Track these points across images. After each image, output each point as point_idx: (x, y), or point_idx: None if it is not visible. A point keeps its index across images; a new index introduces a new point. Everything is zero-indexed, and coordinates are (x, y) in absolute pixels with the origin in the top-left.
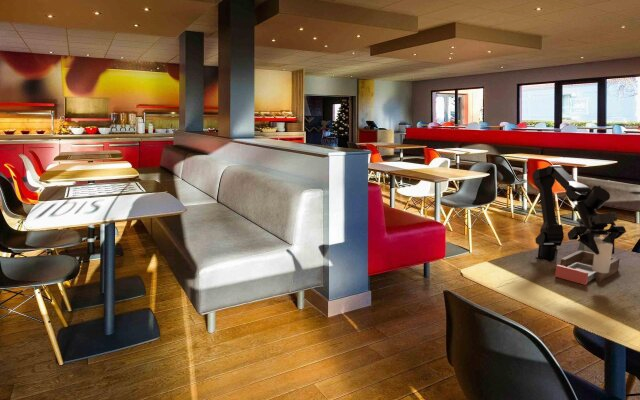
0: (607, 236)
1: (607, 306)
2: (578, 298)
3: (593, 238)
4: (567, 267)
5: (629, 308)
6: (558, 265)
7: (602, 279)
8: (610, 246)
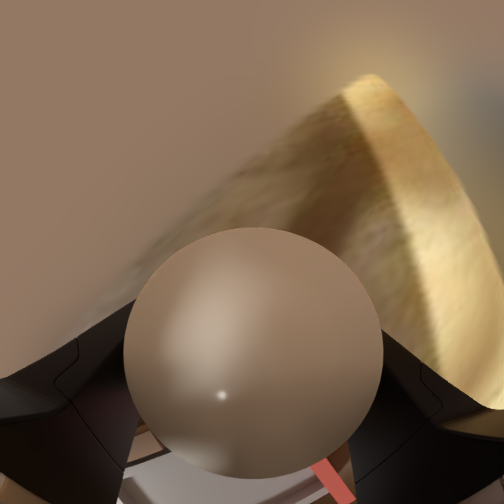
0: (57, 496)
1: (329, 187)
2: (386, 260)
3: (444, 426)
4: (325, 477)
5: (266, 162)
6: (348, 498)
7: (144, 423)
8: (242, 234)
